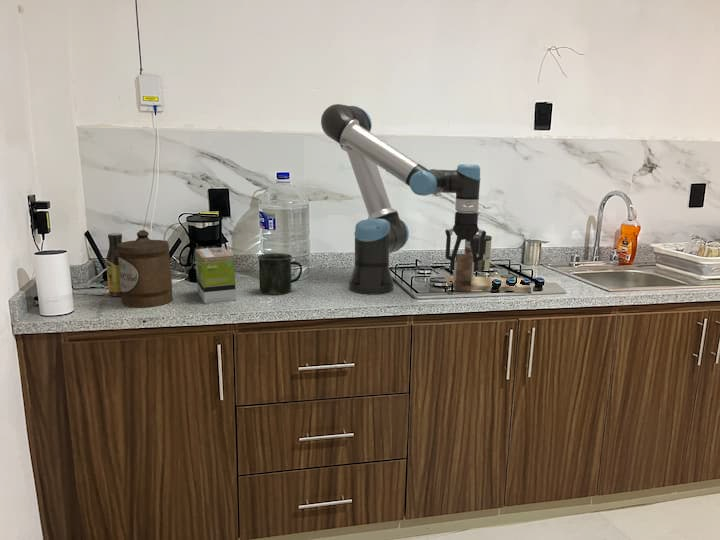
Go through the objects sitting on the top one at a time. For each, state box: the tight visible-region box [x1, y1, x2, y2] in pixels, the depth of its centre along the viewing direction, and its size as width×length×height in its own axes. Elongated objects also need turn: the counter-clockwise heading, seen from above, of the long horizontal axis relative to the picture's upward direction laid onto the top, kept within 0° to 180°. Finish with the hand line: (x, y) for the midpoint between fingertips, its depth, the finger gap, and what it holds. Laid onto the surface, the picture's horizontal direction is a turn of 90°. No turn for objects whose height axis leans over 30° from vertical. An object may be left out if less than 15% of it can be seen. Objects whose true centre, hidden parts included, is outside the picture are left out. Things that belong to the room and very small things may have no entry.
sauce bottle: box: [105, 232, 123, 297], centre depth 179 cm, size 6×6×20 cm
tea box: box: [194, 246, 237, 304], centre depth 179 cm, size 15×10×15 cm
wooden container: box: [117, 229, 174, 308], centre depth 172 cm, size 15×15×22 cm
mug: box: [257, 252, 303, 296], centre depth 187 cm, size 11×15×12 cm
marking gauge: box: [454, 253, 473, 292], centre depth 195 cm, size 5×13×12 cm, turn 176°
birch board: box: [444, 275, 532, 294], centre depth 198 cm, size 28×14×2 cm, turn 86°
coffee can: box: [463, 233, 493, 272], centre depth 222 cm, size 10×10×14 cm
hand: (462, 279), depth 192 cm, fingers closed on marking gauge, 5 cm apart
